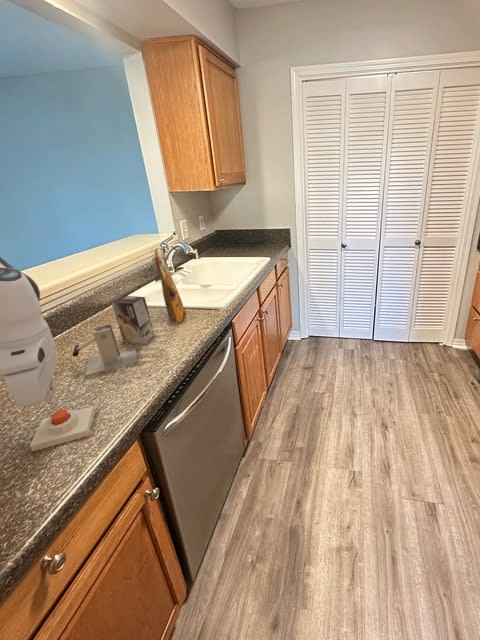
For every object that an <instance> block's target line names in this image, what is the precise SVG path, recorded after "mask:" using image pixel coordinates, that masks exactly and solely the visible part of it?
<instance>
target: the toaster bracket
mask: <svg viewBox="0 0 480 640" xmlns="http://www.w3.org/2000/svg"><path fill="white" fill-rule="evenodd" d="M104 327H106V328H107V329H104V330H100V329H102V328H104ZM93 328H94V331H93V332H92V334H93V337H95V340H96V341H95V342H96V345H97V348H98V351H99V354H97V355H92V356H89V357H88V359H87V365H86V369H85V377H88V376H89V377H90V376H92V375H96V374H100V373H104V372H108V371H111V370H115V369H119V368H123V367H126V366H130V365H134V364H137V363H138V355H137V346H136V345H134V346H130V347H126V348H122V349H121V348H120V349H119V345H118V343H117V339H116V336H115V332H114V330H113V327H112V323H111V322H110V323H104V324H100V325H95V326H94V327H93Z"/></svg>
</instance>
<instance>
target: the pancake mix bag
mask: <svg viewBox="0 0 480 640" xmlns="http://www.w3.org/2000/svg"><path fill="white" fill-rule="evenodd" d="M154 254H155V255H154V261H155V266H156V269H157V272H158V275H159V277H160V283H161V288H162V289H161V290H162V295H163V300H164V304H165V308H166V312H167V315H168V318H169V321H170V323H176V324H177V323H182V322H183V320H184V313H185V308H184V304H183V301H182V298H181V296H180V293H179V291H178V288H177V286H176V283H175V281H174V279H173V278H172V275H171V273H170V270H169V268H168V267H167V264H166V263H165V261H164V260H163V259H164V258H162V256H161V254H160V253H159V250H158V248H156V249H155V250H154Z"/></svg>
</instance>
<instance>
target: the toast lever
mask: <svg viewBox="0 0 480 640" xmlns="http://www.w3.org/2000/svg"><path fill="white" fill-rule="evenodd" d="M104 329H107V328H106V327H104V328H102V329H100V330H104ZM94 342H96V340H95V337H94V336H93V337H91V338H89V340H87V341H86V342H84V343H82V344H80V345H79V344H75V345H74V347H73V351H72V357H75V358H76V357H78V356H79V353H80V351H83V350H84V349H85V348H87V347H89V346H90V345H92V344H93V343H94Z"/></svg>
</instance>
